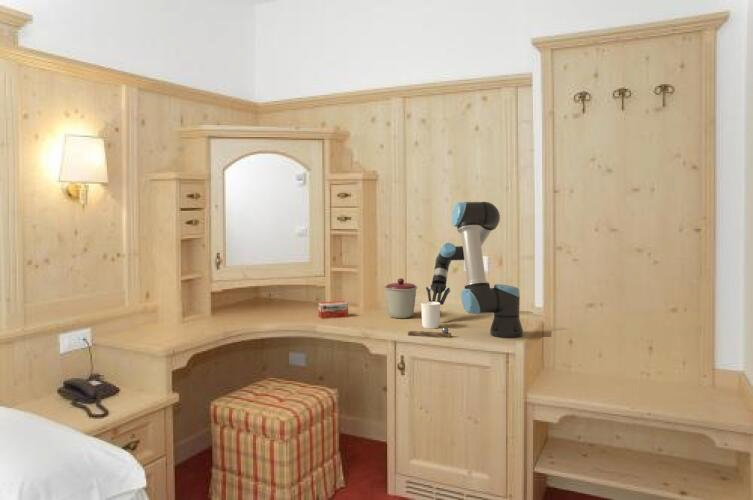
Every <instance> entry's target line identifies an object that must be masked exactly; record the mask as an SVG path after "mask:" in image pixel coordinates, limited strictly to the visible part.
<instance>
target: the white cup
mask: <svg viewBox="0 0 753 500" xmlns="http://www.w3.org/2000/svg"><path fill="white" fill-rule="evenodd" d="M420 310H421V325H422V328H424V329H430V328H431V329H438V328H439V327H440V316H441V305H440V303H439V302H437V301H435V302H429V301H422V302H420Z"/></svg>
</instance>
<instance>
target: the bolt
mask: <svg viewBox="0 0 753 500" xmlns="http://www.w3.org/2000/svg"><path fill="white" fill-rule="evenodd" d="M441 329H442V330H441V332H442V333H443V334H448V333H449V327H448V326H447V327H446V326H445V327H442V328H441Z"/></svg>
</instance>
